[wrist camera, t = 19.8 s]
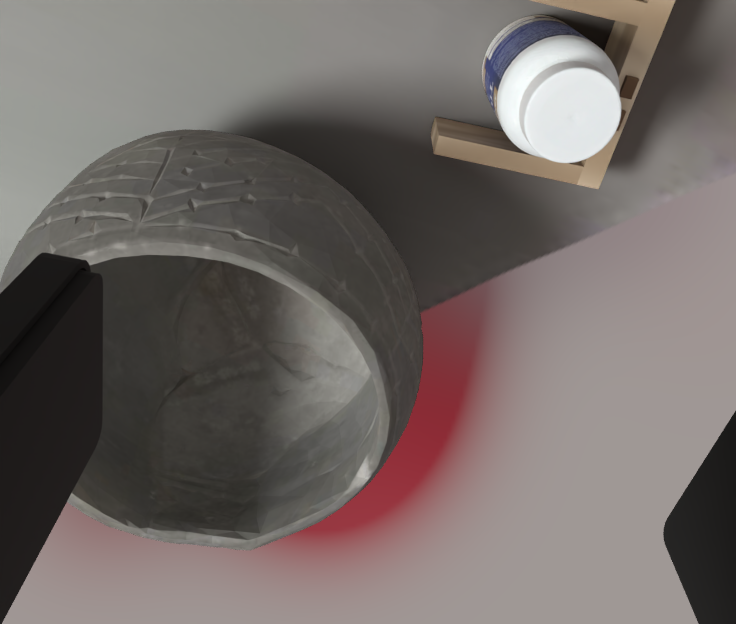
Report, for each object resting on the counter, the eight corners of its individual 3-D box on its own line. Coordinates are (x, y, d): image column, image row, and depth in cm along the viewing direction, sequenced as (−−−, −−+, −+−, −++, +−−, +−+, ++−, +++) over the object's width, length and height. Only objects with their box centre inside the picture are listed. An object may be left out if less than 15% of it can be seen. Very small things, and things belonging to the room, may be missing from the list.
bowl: (118, 32, 36) (-31, 107, 23) (474, 178, 40) (515, 311, 27) (59, 338, 46) (-68, 505, 34) (345, 431, 50) (329, 614, 37)
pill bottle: (459, 69, 37) (479, 119, 28) (538, -11, 34) (585, 18, 26) (524, 138, 38) (561, 204, 30) (603, 67, 36) (666, 116, 28)
